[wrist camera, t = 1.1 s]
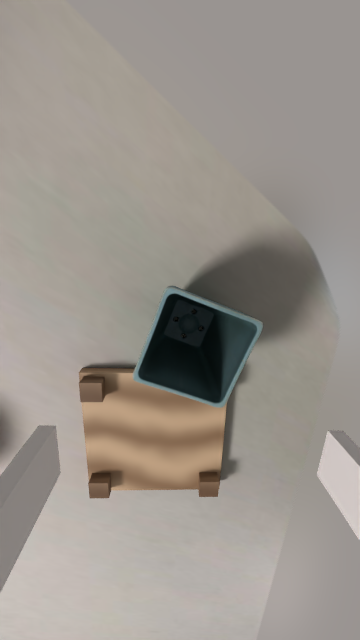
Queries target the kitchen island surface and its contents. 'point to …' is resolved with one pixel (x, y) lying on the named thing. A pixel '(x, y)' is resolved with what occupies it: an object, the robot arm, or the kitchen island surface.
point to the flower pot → (196, 347)
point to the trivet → (147, 436)
